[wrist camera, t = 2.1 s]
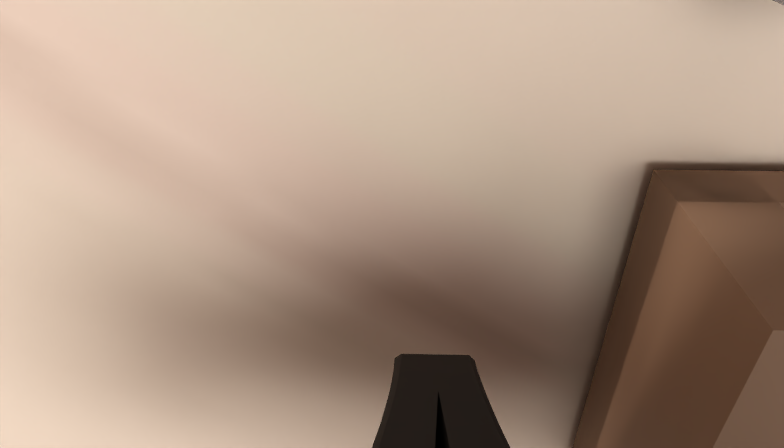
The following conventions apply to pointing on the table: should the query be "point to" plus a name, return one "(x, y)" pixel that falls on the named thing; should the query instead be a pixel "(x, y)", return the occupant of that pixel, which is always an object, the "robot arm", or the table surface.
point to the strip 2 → (779, 1)
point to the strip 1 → (696, 320)
